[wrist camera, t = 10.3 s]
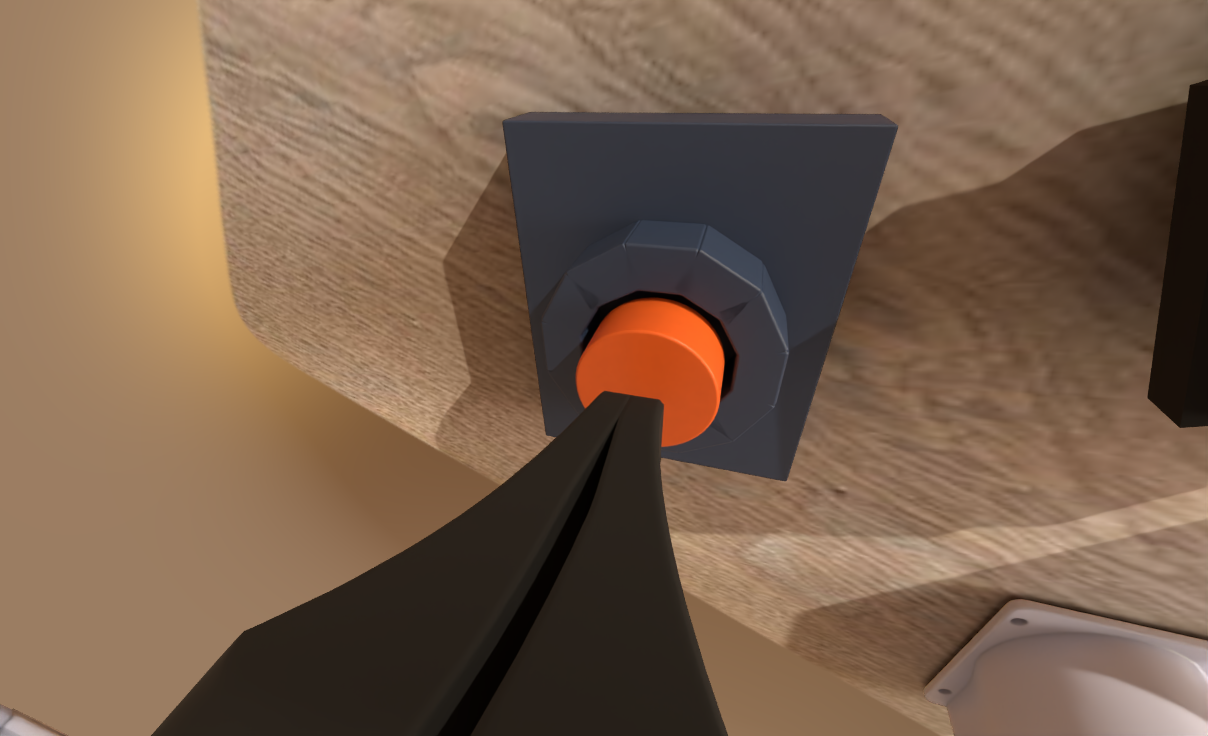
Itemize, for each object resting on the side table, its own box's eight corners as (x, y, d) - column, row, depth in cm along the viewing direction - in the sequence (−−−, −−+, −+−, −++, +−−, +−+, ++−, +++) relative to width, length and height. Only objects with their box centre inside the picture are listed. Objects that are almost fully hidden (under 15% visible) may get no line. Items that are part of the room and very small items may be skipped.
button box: (785, 448, 17) (788, 525, 14) (560, 408, 19) (526, 469, 16) (883, 114, 11) (923, 140, 8) (528, 112, 13) (464, 131, 10)
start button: (716, 415, 13) (710, 459, 12) (597, 395, 14) (578, 434, 13) (734, 303, 11) (729, 342, 10) (592, 289, 12) (569, 321, 10)
